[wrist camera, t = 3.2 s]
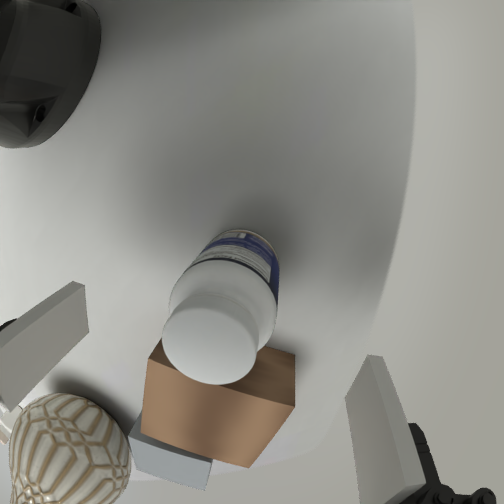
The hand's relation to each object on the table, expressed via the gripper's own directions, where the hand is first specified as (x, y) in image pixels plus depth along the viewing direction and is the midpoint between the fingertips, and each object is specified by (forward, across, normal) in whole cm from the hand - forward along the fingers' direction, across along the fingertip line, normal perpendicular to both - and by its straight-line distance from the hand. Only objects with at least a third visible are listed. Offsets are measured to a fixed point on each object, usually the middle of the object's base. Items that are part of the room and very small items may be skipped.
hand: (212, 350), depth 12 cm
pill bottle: (+9, 0, 0) cm, 9 cm away
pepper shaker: (+10, -38, -42) cm, 57 cm away
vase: (+10, -16, -26) cm, 33 cm away
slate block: (+10, -3, -20) cm, 23 cm away
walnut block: (+10, 0, -10) cm, 14 cm away
